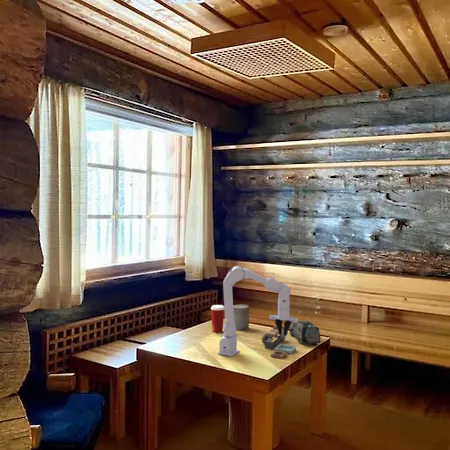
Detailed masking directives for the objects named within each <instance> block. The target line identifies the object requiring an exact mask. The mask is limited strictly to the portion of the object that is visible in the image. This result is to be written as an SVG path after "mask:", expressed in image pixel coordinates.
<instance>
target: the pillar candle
mask: <svg viewBox="0 0 450 450" xmlns="http://www.w3.org/2000/svg"><path fill="white" fill-rule="evenodd" d="M233 314H234V322H235V324H236V331H247V330H249V329H250V327H249V325H250V306H249V305H248V304H242V303H241V304H235V305H234V304H233Z"/></svg>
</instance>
